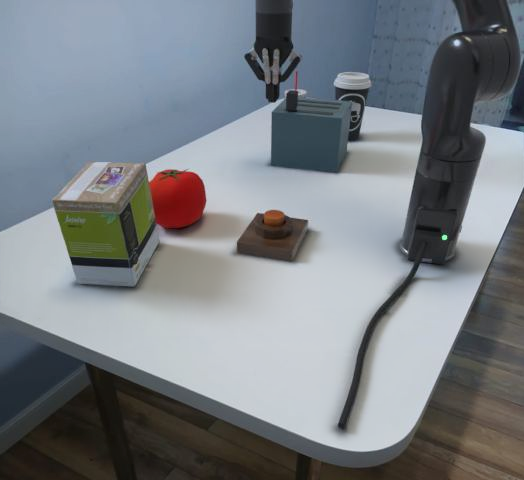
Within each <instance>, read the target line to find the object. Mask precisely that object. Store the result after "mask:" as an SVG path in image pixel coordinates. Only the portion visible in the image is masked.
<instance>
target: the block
mask: <svg viewBox="0 0 524 480" xmlns="http://www.w3.org/2000/svg"><path fill="white" fill-rule="evenodd" d="M308 230H309V219H304V218H298V217H297V218H296V217H291V216H288V215H286V214H284V225H282V226H278V227H271V226H267V225H265V224H264V213H261V212H257V213H256V214H255V216H254V217H253V218H252V220H251V221H250V223H249V224H248V226H247V227H246V228H245V230H244V231H243V232H242V234H241V236H240V237H239V238H238V240H237V241H236V253H237V254H240V255H241V254H242V255H246V256H247V255H248V256H255V257H261V258H267V259H273V260H279V261H286V262H293V260H294V259H295V256H296V254H297V253H298V251H299V249H300V246H301V244H302V243H303V241H304V239H305V236H306V234H307V232H308Z"/></svg>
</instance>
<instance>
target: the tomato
mask: <svg viewBox="0 0 524 480" xmlns="http://www.w3.org/2000/svg"><path fill="white" fill-rule="evenodd" d="M188 170H189V168H187V169H184V170H179V169H173V168H172V169H169V168H168V169H167V168H166V169H164V170H162V171H157V172H156V174H155V175H154V176H153V178H152V179H151V180H150V181H149V186H150V191H151V197H152V202H153V208H154V214H155V219H156V225H158V226H160V227H162V228H166V229H167V228H168V229H170V228H172V229H180V228H181V229H182V228H184V227H188V226H190V225H192V224H194V223H195V222H197V221H198V220H199V219H200V218H201V217H202V215H203V213H204V212H205V208H206V205H207V193H206V186H205V184H204V180H203V179H202V178H201V176H200V175H199V174H198V173H196V172H194V171H188Z"/></svg>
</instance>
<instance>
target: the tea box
mask: <svg viewBox="0 0 524 480" xmlns="http://www.w3.org/2000/svg"><path fill="white" fill-rule="evenodd" d="M149 182H150V181H149V175H148V170H147V163H145V162H113V161H112V162H111V161H109V162H108V161H90V160H89V161H88V162H87V164H85V165H84V166H83V167H82V168H81V169H80V170H79V172H78V173H76V175H74V177H73V178H72V179H71V180H69V182H68V183H67V184H66V185H65V186H64V187H63V188H62V189H60V191H58V193H57V195H56V196H54V197H53V198H52V199H51V201H52V205H53V210H54V213H55V216H56V220H57V222H58V225H59V228H60V232H61V235H62V238H63V241H64V244H65V248H66V251H67V255H68V257H69V260H70V263H71V267H72V270H73V271H72V272H73V273H74V277H75V280H76V282H77V284H79V285H97V286H111V287H112V286H113V287H131V288H132V287H136V285H137V284H138V281H139V280H140V278H141V276H142V274H143V273H144V270H145V269H146V266H147V265H148V263H149V261H150V259H151V258H152V256H153V254H154V252H155V250H156V248H158V245H159V243H160V238H159V231H158V226H157V225H158V224H156V219H155V214H154V208H153V202H152V197H151V191H150V186H149Z"/></svg>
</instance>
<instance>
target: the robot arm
mask: <svg viewBox="0 0 524 480" xmlns="http://www.w3.org/2000/svg"><path fill="white" fill-rule="evenodd" d="M450 1H451V2H452V4H453V6H454V9H455V11H456V14H457V17H458V20H459V24H460V27H461V31H458V32H454V33H451V34H449V35H448V36H446V37H445V38H444V39H443V40H442V41H441V42H440V43H439V45H438V46H437V48H436V49H435V52H434V54H433V56H432V59H431V63H430V66H429V69H428V74H427V80H426V87H425V94H424V101H423V108H422V113H421V121H420V130H421V131H420V132H421V144H420V145H421V146H420V150H419V153H418V154H419V155H418V160H417V165H416V169H415V174H414V178H413V183H412V188H411V193H410V198H409V203H408V207H407V211H406V217H405V222H404V228H403V232H402V237H401V240H400V243H399V249H400V251H401V252H402V253H403V254H404V255H405V256H406V259H407V260H409V261H414V263H413V265H412V267H411V270H410V271H409V272H408V274H407V277H406V278H405V280H404V281H402V284H400V285H399V286H398V287H397V288H396V289H395V290H394V291H393V292H392V293H391V295H390V296H389V297H388V298H387V299H386V300H385V301H384V302H383V303H382V305H380V307H379V308H378V309H377V310H376V311H375V313H374V314H373V315H372V318H371V319H370V321H369V323H368V325H367V327H366V329H365V331H364V334H363V336H362V340H361V342H360V345H359V349H358V352H357V354H356V355H357V356H356V360H355V364H354V369H353V376H352V380H351V383H350V388H349V391H348V394H347V397H346V400H345V403H344V405H343V409H342V411H341V414H340V417H339V420H338V423H337V428H339V429H340V430H344V429H346V426H347V424H348V420H349V417H350V414H351V412H352V409H353V406H354V402H355V399H356V396H357V393H358V389H359V386H360V382H361V376H362V371H363V365H364V361H365V355H366V352H367V348H368V345H369V341H370V339H371V335H372V334H373V331H374V328H375V327H376V325H377V323H378V322H379V320H380V318H381V317H382V316H383V314H384V313H385V312H386V310H388V308H389V307H390V306H391V305H392V304H393V303H394V302H395V301H396V300H397V299H398V298H399V296H400V295H401V294H402V293H403V292H404V291H405V290H406V289H407V287H408V286H409V285H410V284H411V283H412V281H413V279H414V277H415V276H416V273H417V272H418V270H419V267H420V265H421V263H428V264H435V265H443V266H444V265H445V263H446V262H447V261H449V260H451V259H452V258H454V256H455V253H456V247H457V244H458V240H459V237H460V234H461V233H462V228H463V222H464V220H465V215H466V212H467V209H468V206H469V201H470V198H471V195H472V191H473V187H474V185H475V181H476V177H477V174H478V171H479V167H480V164H481V160H482V157H483V154H484V150H485V147H486V143H487V137H486V135H485V133H483V132H482V131H481V130H479V129H477V128H475V127H472V126H471V123H472V117H473V111H474V107H475V105H481V104H487V103H492V102H495V101H498V100H502V99H503V98H504V97H506V96H507V95H508V94H509V93H510V92H511V91H513V88H514V86H515V85H516V83H517V81H518V78H519V75H520V70H521V61H522V55H521V46H520V41H519V37H518V31H517V29H516V26H515V23H514V19H513V16H512V12H511V9H510V6H509V2H508V0H450ZM293 9H294V2H293V0H255V41H254V43H253V47H252V49H250V51H247V52H246V53H244V56H243V59H244V60H245V61H246V63H247V64H248V66H249V68H250V69H251V70H252V72H253V73H254V75H255V77H256V78H257V80H258V81H262V82H263V83H265V99H266V100H267V102H268V103H276V102H277V101H278V100H279V98H280V95H281V94H280V92H281V91H280V89H281V87H280V86H281V83H286V81H287V80H288V79H289V78H290V77H291V75H292V74H293V73H294V71H296V69H297V67H298V65H300V64H301V62H302V60H303V55H301V54H299V53H297V52H296V50H295V49H294V43H293V39H292V31H293V30H292V29H293V28H292V27H293ZM288 58H289V63H290V64H289V65H288V67H287V68H286V69H285V71H284V72H283V73H282V71H283V65H284V64H285V63H286V62H287V60H288ZM258 59H259V60H260V62H261V64H263V67H262V65H261V64H260V63H259V61H258Z"/></svg>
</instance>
